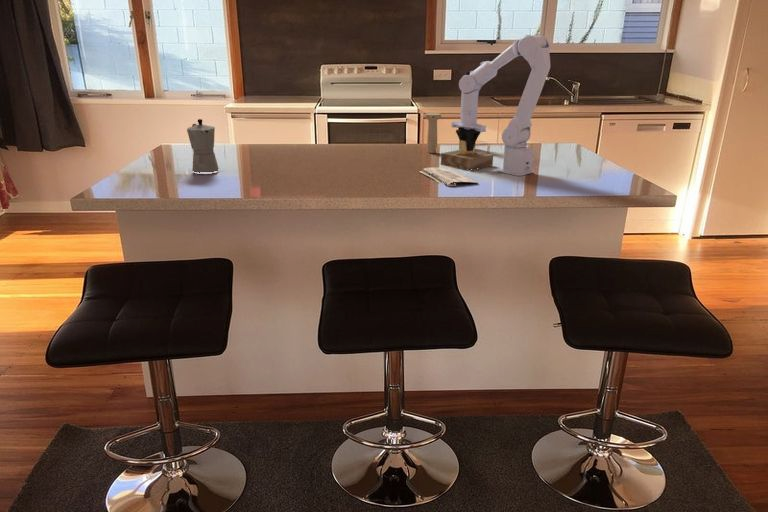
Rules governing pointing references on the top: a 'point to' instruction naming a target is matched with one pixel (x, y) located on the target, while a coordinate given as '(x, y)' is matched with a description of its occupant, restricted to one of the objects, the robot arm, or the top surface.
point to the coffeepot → (203, 147)
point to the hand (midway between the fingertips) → (467, 150)
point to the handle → (432, 131)
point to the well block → (466, 160)
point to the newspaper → (446, 176)
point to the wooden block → (465, 148)
